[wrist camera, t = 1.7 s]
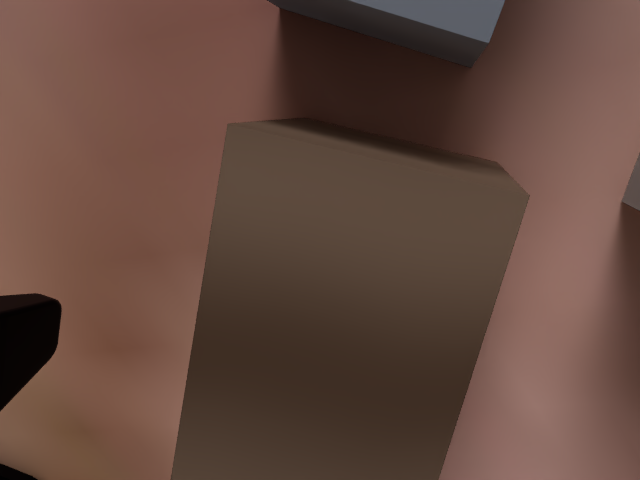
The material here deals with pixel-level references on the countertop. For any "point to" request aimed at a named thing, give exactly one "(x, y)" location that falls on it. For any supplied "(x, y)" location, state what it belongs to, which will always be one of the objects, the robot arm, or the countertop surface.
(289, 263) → the walnut brick
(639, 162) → the cream brick
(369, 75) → the countertop surface
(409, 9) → the slate brick
